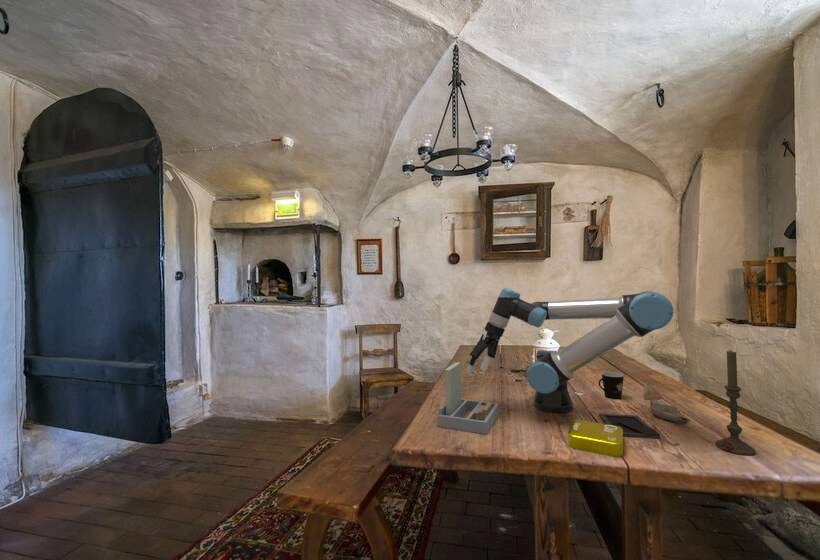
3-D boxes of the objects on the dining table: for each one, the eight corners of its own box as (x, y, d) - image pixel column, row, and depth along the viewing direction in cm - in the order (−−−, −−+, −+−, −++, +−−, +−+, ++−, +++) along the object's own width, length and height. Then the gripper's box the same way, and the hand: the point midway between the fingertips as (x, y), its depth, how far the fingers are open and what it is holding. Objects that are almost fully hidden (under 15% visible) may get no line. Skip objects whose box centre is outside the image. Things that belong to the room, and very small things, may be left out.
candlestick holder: (707, 442, 111) (703, 347, 111) (733, 440, 111) (730, 346, 112) (736, 456, 102) (732, 352, 102) (765, 454, 102) (761, 351, 103)
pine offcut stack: (492, 417, 136) (491, 402, 136) (486, 426, 128) (486, 410, 128) (480, 416, 138) (480, 401, 138) (474, 424, 130) (474, 408, 130)
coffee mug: (618, 394, 160) (617, 372, 160) (628, 400, 151) (627, 377, 151) (591, 393, 161) (591, 372, 161) (600, 400, 152) (599, 377, 152)
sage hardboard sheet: (461, 412, 143) (460, 362, 143) (451, 423, 131) (449, 370, 131) (457, 411, 143) (455, 362, 144) (446, 423, 132) (444, 369, 132)
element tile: (573, 430, 123) (572, 416, 123) (623, 439, 115) (622, 424, 115) (567, 448, 110) (566, 433, 110) (623, 459, 102) (622, 443, 102)
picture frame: (660, 440, 114) (637, 419, 132) (660, 434, 114) (637, 414, 132) (615, 437, 117) (598, 417, 134) (615, 431, 117) (598, 412, 135)
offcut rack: (499, 413, 140) (498, 398, 140) (486, 434, 121) (486, 416, 121) (456, 407, 148) (455, 393, 148) (437, 426, 129) (437, 410, 129)
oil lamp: (657, 407, 142) (656, 382, 142) (700, 429, 121) (699, 400, 121) (635, 408, 142) (635, 383, 142) (675, 429, 121) (674, 400, 121)
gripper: (500, 322, 156) (481, 364, 158) (475, 319, 136) (454, 368, 138) (515, 329, 151) (495, 373, 154) (492, 328, 131) (470, 378, 134)
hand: (476, 371), depth 146 cm, fingers open, 13 cm apart
